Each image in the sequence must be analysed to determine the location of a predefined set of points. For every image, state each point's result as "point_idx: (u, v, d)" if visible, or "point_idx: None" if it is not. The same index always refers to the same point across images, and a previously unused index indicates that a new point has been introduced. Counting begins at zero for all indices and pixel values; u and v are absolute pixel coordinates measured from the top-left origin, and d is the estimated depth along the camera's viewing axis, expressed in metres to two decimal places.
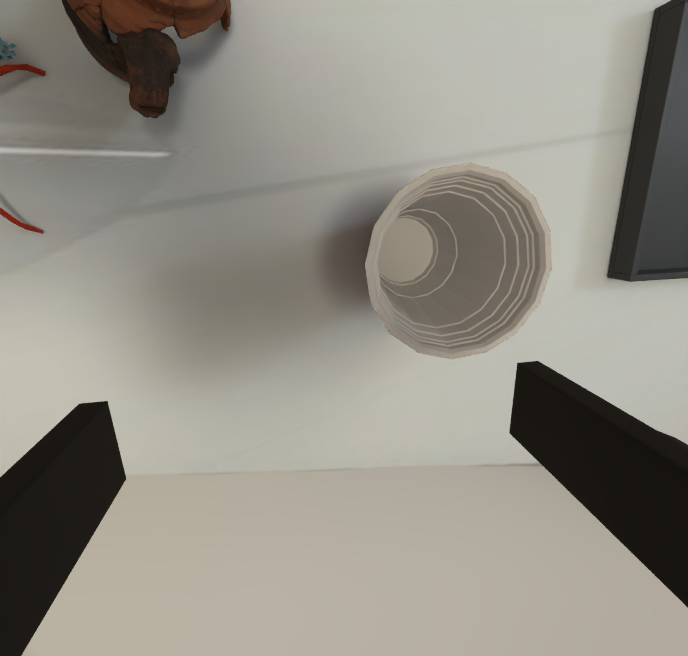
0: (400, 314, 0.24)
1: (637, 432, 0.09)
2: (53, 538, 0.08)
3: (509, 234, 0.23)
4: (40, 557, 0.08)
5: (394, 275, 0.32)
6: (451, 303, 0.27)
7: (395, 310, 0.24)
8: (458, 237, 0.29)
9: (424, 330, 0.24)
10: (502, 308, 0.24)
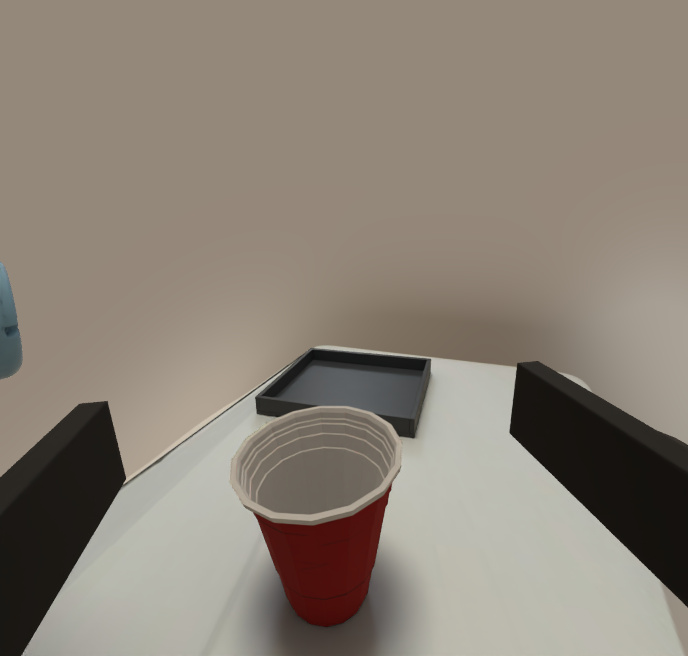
0: None
1: (637, 432, 0.09)
2: (53, 538, 0.08)
3: (320, 440, 0.29)
4: (39, 557, 0.08)
5: None
6: None
7: None
8: (325, 508, 0.29)
9: None
10: (375, 443, 0.26)
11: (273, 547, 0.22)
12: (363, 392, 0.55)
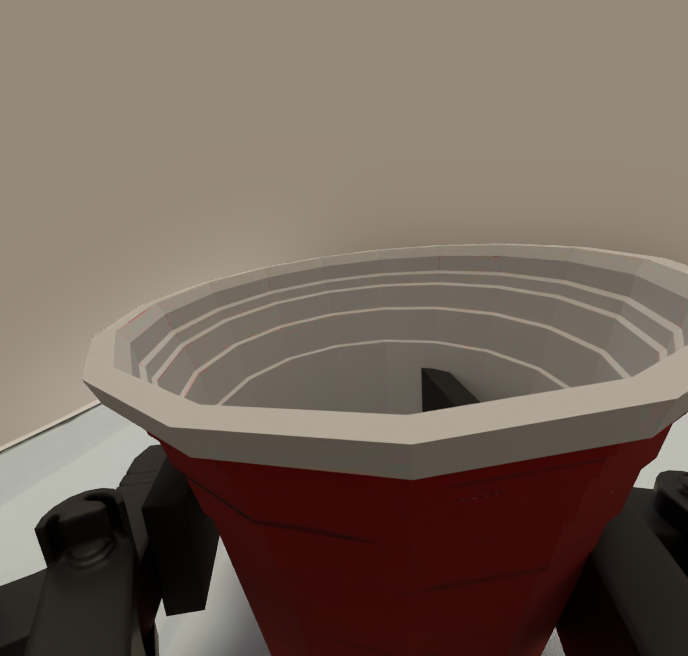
0: None
1: None
2: None
3: (378, 323, 0.13)
4: None
5: None
6: None
7: None
8: None
9: None
10: (528, 309, 0.10)
11: (238, 570, 0.07)
12: None
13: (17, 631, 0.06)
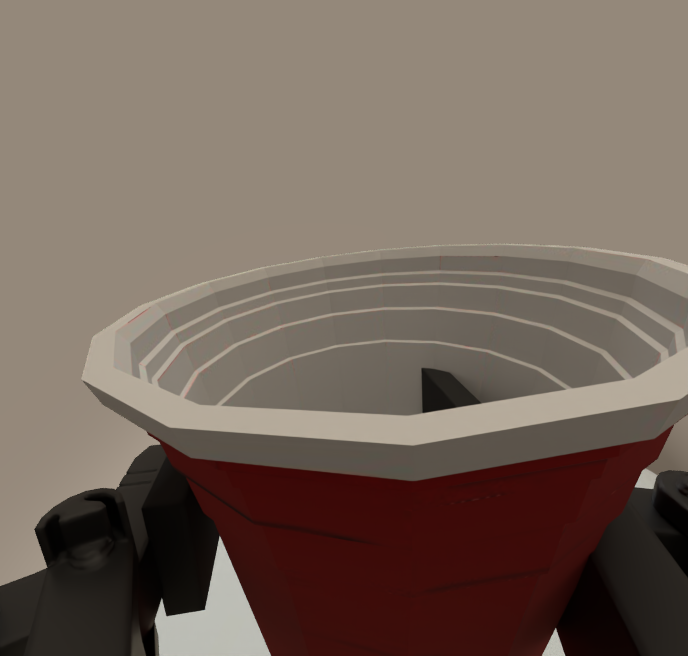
0: None
1: None
2: None
3: (378, 323, 0.13)
4: None
5: None
6: None
7: None
8: None
9: None
10: (528, 309, 0.10)
11: (238, 571, 0.07)
12: None
13: (17, 631, 0.06)
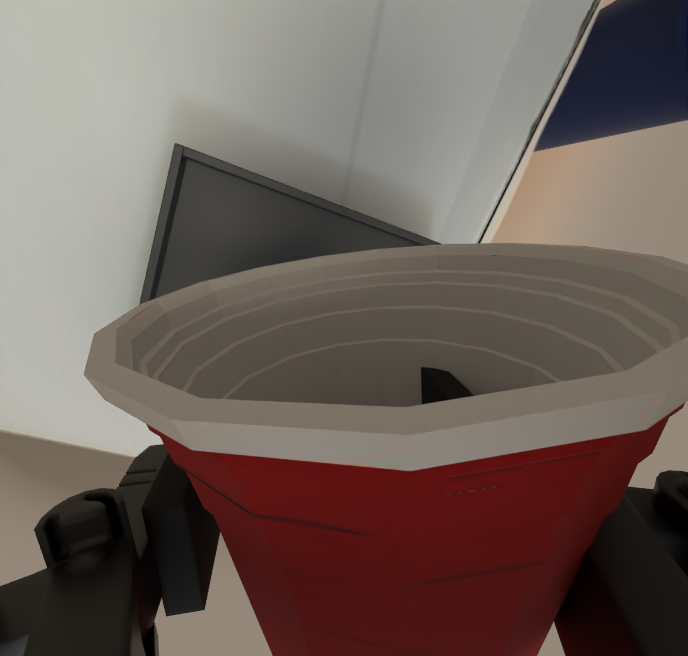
0: None
1: None
2: None
3: (377, 322, 0.13)
4: None
5: None
6: None
7: None
8: None
9: None
10: (526, 308, 0.10)
11: (238, 566, 0.07)
12: None
13: (16, 631, 0.05)
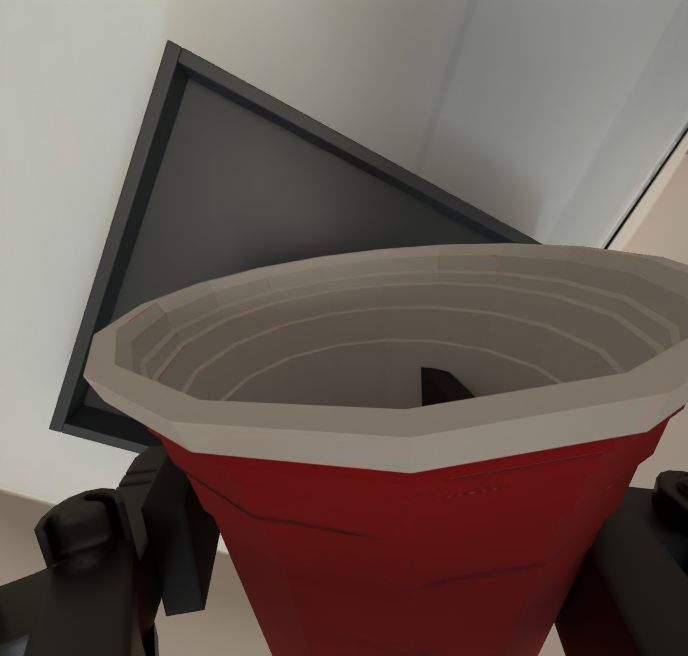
0: None
1: None
2: None
3: (377, 323, 0.13)
4: None
5: None
6: None
7: None
8: None
9: None
10: (526, 308, 0.10)
11: (238, 567, 0.07)
12: None
13: (17, 631, 0.05)
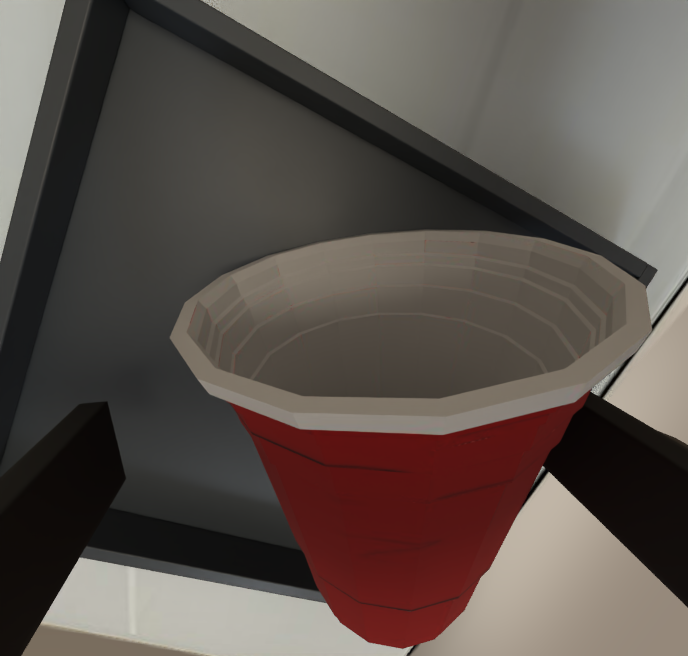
0: None
1: (637, 432, 0.09)
2: (53, 538, 0.08)
3: (372, 299, 0.15)
4: (40, 557, 0.08)
5: None
6: None
7: None
8: None
9: None
10: (498, 288, 0.12)
11: (293, 501, 0.09)
12: None
13: None
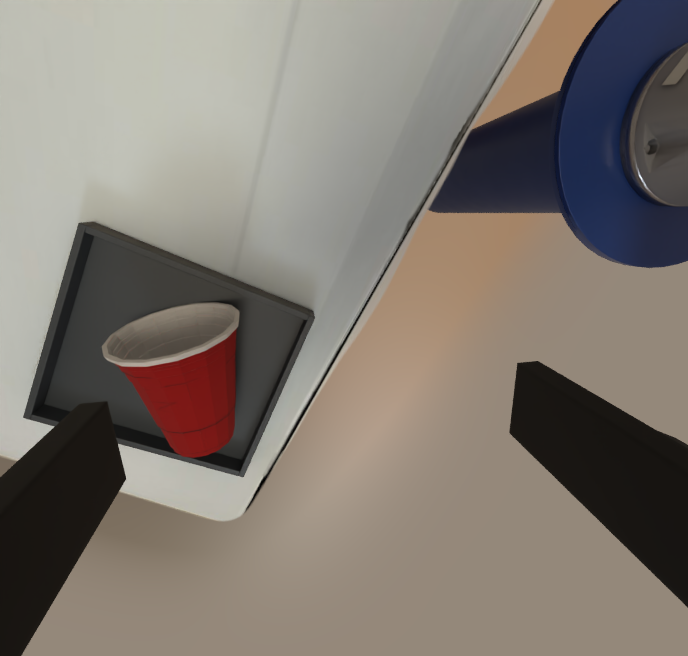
0: None
1: (637, 432, 0.09)
2: (53, 538, 0.08)
3: (196, 329, 0.36)
4: (40, 557, 0.08)
5: None
6: None
7: None
8: None
9: None
10: None
11: (139, 394, 0.30)
12: None
13: None
